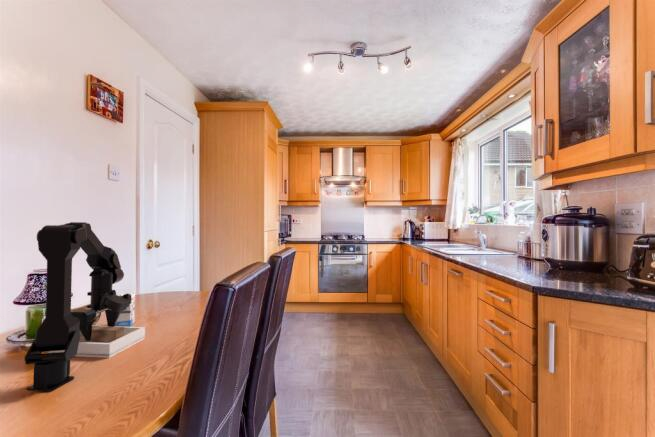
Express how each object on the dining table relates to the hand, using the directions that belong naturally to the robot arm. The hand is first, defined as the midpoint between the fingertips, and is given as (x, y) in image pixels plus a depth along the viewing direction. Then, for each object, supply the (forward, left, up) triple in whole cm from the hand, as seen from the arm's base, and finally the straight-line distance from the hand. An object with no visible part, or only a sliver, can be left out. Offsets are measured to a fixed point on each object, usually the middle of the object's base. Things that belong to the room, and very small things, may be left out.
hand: (100, 335), depth 101 cm
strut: (0, 0, -2) cm, 3 cm away
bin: (0, 0, -4) cm, 4 cm away
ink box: (+22, +8, -4) cm, 24 cm away
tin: (+16, +22, -4) cm, 27 cm away
